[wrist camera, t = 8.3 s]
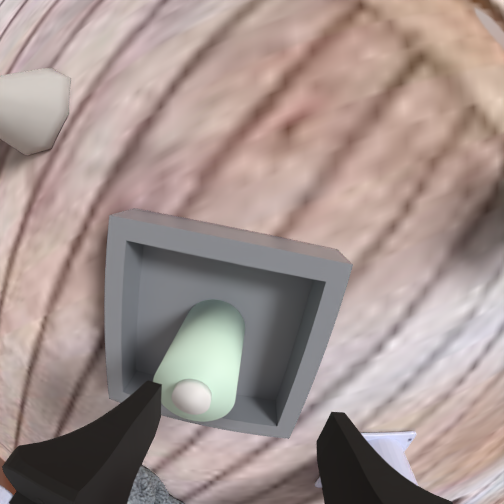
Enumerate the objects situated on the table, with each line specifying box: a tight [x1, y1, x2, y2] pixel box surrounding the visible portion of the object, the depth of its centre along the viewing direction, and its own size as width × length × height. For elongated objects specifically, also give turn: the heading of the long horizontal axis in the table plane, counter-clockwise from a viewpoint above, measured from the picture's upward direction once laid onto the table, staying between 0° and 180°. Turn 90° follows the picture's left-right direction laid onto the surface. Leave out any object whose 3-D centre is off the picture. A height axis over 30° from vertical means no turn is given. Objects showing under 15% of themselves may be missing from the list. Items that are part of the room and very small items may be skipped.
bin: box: [105, 208, 353, 439], centre depth 19 cm, size 13×13×4 cm
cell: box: [153, 299, 245, 422], centre depth 16 cm, size 4×4×8 cm
